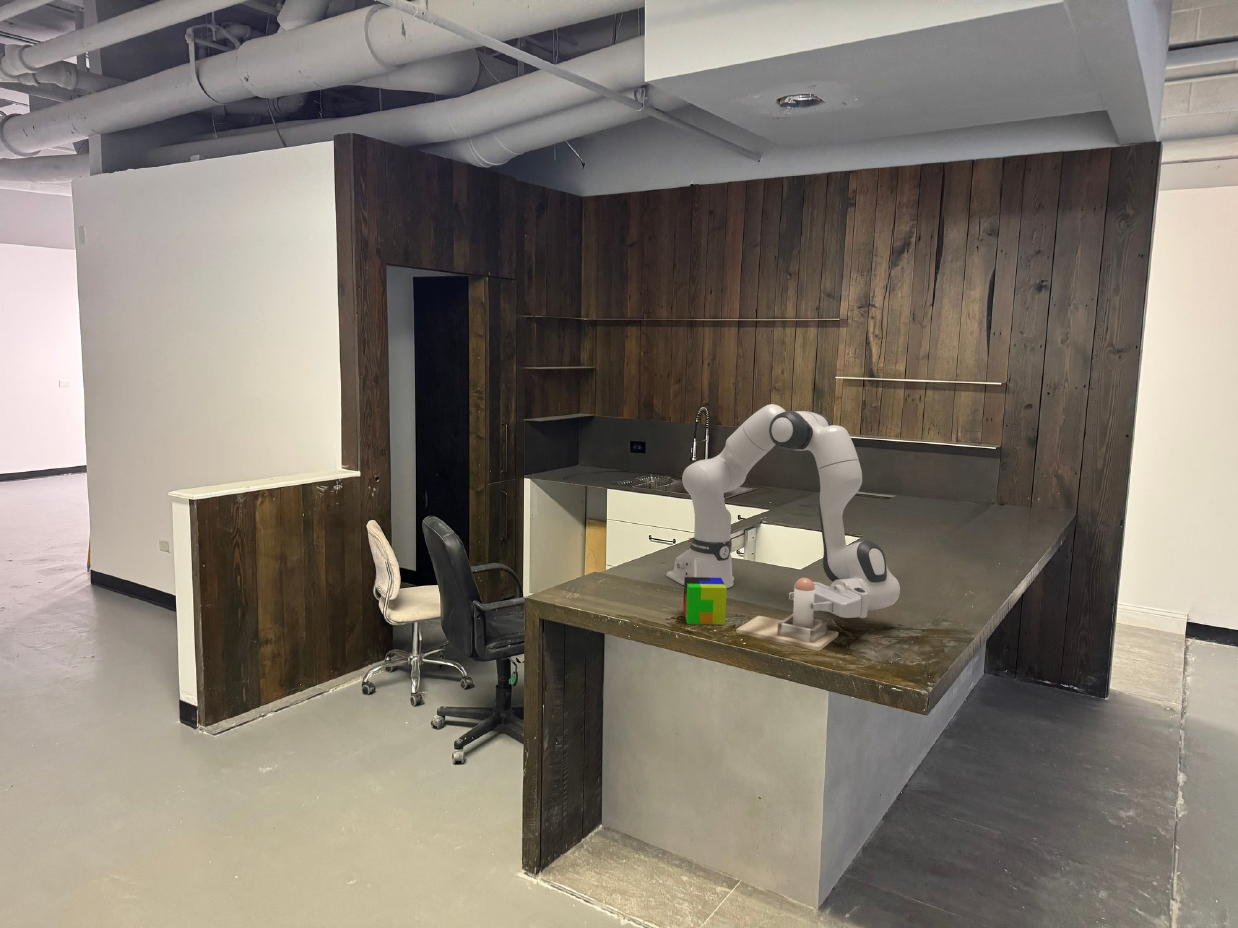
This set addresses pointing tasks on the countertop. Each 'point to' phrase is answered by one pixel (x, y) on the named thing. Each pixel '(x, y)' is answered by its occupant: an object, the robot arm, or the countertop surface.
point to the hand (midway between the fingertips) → (801, 601)
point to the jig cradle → (789, 632)
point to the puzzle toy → (704, 600)
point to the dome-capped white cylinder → (803, 603)
